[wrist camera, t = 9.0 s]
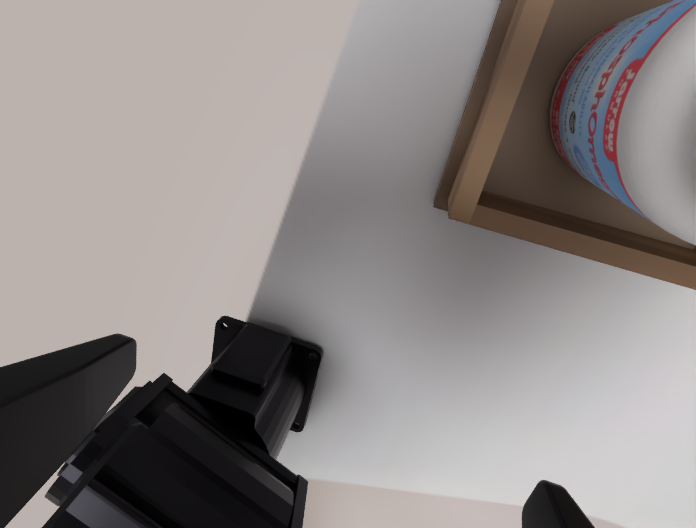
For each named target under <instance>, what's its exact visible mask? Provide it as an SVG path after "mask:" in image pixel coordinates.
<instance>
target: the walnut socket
mask: <svg viewBox="0 0 696 528" xmlns="http://www.w3.org/2000/svg"><path fill="white" fill-rule="evenodd" d="M672 1H674V0H501V3H500V6H499V9H498V12H497V15H496V18H495V21H494V24H493V27H492V30H491V33H490V36H489V39H488V42H487V45H486V48H485V51H484V54H483V57H482V60H481V63H480V66H479V69H478V72H477V75H476V78H475V81H474V84H473V87H472V90H471V93H470V96H469V99H468V102H467V105H466V108H465V111H464V114H463V117H462V120H461V123H460V126H459V129H458V132H457V135H456V138H455V141H454V144H453V147H452V150H451V153H450V156H449V159H448V162H447V165H446V168H445V171H444V174H443V177H442V180H441V183H440V186H439V189H438V192H437V195H436V198H435V201H434V207H435V208H439V209H442V210H446V211H448V215H449V219H453V220H456V221H460V222H463V223H467V224H470V225H474V226H477V227H480V228H484V229H487V230H491V231H494V232H498V233H501V234H505V235H508V236H512V237H515V238H518V239H522V240H525V241H529V242H532V243H536V244H539V245H543V246H546V247H550V248H553V249H556V250H560V251H563V252H567V253H570V254H574V255H577V256H581V257H584V258H588V259H591V260H594V261H598V262H601V263H605V264H608V265H612V266H615V267H619V268H622V269H626V270H629V271H632V272H636V273H639V274H643V275H646V276H650V277H653V278H657V279H660V280H664V281H667V282H670V283H674V284H677V285H681V286H684V287H688V288H691V289H695V290H696V245H694V244H691V243H689V242H686V241H684V240H682V239H680V238H678V237H676V236H674V235H673V234H671V233H669V232H667V231H665V230H664V229H662V228H660V227H659V226H657V225H656V224H654V223H653V222H651V221H650V220H648V219H646V218H645V217H643V216H642V215H640V214H639V213H637V212H636V211H634V210H633V209H632V208H630V207H628V206H627V205H625V204H624V203H622V202H621V201H619V200H617V199H616V198H614V197H613V196H611V195H610V194H608V193H606V192H605V191H603V190H602V189H600V188H599V187H597V186H596V185H594V184H592V183H591V182H589V181H588V180H586V179H584V178H583V177H581V176H580V175H578V174H577V173H576V172H575V171H573V170H572V169H571V168H570V167H569V166H568V165H567V164H566V163H565V162H564V160H563V159H562V158H561V156H560V155H559V153H558V151H557V149H556V147H555V145H554V142H553V139H552V135H551V130H550V106H551V101H552V97H553V94H554V90H555V88H556V85H557V83H558V81H559V78H560V77H561V75H562V73H563V71H564V70H565V68H566V66H567V65H568V63H569V62H570V61H571V59H572V58H573V57H574V56H575V54H576V53H577V52H578V51H579V50H580V49H581V48H582V47H583V46H584V45H585V44H586V43H587V42H589V41H590V40H591V39H592V38H593V37H595V36H596V35H598V34H599V33H600V32H602V31H604V30H605V29H607V28H608V27H610V26H612V25H614V24H616V23H618V22H621V21H623V20H625V19H627V18H629V17H632V16H635V15H637V14H640V13H643V12H645V11H648V10H650V9H653V8H656V7H658V6H661V5H664V4H666V3H669V2H672Z"/></svg>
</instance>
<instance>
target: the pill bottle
mask: <svg viewBox="0 0 696 528" xmlns="http://www.w3.org/2000/svg"><path fill="white" fill-rule="evenodd" d="M550 130H551V135H552V139H553V142H554V145H555V147H556V149H557V151H558V153H559V155H560V156H561V158H562V159H563V160H564V162H565V163H566V164H567V165H568V166H569V167H570V168H571V169H572V170H573V171H575V172H576V173H577V174H578V175H580V176H581V177H583V178H584V179H586V180H588V181H589V182H591V183H592V184H594V185H596V186H597V187H599V188H600V189H602V190H603V191H605V192H606V193H608V194H610V195H611V196H613V197H614V198H616V199H617V200H619V201H621V202H622V203H624V204H625V205H627V206H628V207H630V208H632V209H633V210H634V211H636V212H637V213H639V214H640V215H642V216H643V217H645V218H646V219H648V220H650V221H651V222H653V223H654V224H656V225H657V226H659V227H660V228H662V229H664V230H665V231H667V232H669V233H671V234H673V235H674V236H676V237H678V238H680V239H682V240H684V241H686V242H689V243H691V244H694V245H696V0H674V1H672V2H669V3H666V4H664V5H661V6H658V7H656V8H653V9H650V10H648V11H645V12H643V13H640V14H637V15H635V16H632V17H629V18H627V19H625V20H623V21H621V22H618V23H616V24H614V25H612V26H610V27H608V28H607V29H605V30H604V31H602V32H600V33H599V34H598V35H596V36H595V37H593V38H592V39H591V40H590V41H589V42H587V43H586V44H585V45H584V46H583V47H582V48H581V49H580V50H579V51H578V52H577V53H576V54H575V56H574V57H573V58H572V59H571V61H570V62H569V63H568V65H567V66H566V68H565V70H564V71H563V73H562V75H561V77H560V78H559V81H558V83H557V85H556V88H555V90H554V94H553V97H552V101H551V106H550Z"/></svg>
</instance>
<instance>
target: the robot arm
mask: <svg viewBox="0 0 696 528" xmlns="http://www.w3.org/2000/svg"><path fill="white" fill-rule="evenodd" d="M223 323H225V324H226V325H227V326H228V327H226V326H224V324H223ZM311 353H315V354H316V355H317V356H313V355H312V354H311ZM322 358H323V351H322V349H321V348H320V347H318V346H316V345H313V344H310V343H307V342H304V341H301V340H298V339H295V338H292V337H289V336H287V335H284V334H281V333H278V332H275V331H272V330H269V329H266V328H263V327H260V326H257V325H254V324H251V323H246V322H243V321H240V320H237V319H234V318H231V317H228V316H222V317H221V318H220V319H219V320H218V321H217V323H216V326H215V335H214V343H213V352H212V360H211V364H210V366H209V367H208V368H207V369H206V370H205V371H204V373H203V374H202V375H201V376H200V377H199V379H198V380H197V381H196V382H195V383H194V385H193V386H192V387H191V388H190V389H189V390H188V391H187V393H186V392H185V391H184V390H182V389H181V388H180V387H178V386H177V385H176V384H174V383H173V382H172V380H173V379H171V378H170V377H169V376H167V375H166V374H165V373H163V374H162V375H161V376H160V377H159V378H157V379H156V380H155V381H154V382H153V383H152V382H151V381H149V382H148V383H146V384H145V385H144V386H143V387H134V388H133V389H132V390H131V391H130V392H129V393H128V394H127V395H126V396H125V397H124V398H123V399H122V400H121V401H120V402H119V403H118V404H117V405H116V406H114V407H113V408H112V409H111V410H110V411H108V412H107V410H108V409H109V408H110V406H111V405H112V404H113V403H114V401H115V400H116V399H117V397H118V396H119V395H120V393H121V392H122V391H123V389H124V388H125V387H126V385H127V384H128V383H129V381H130V380H131V379H132V377H133V375H134V373H135V369H136V341H135V340H134V339H133V338H130V337H128V336H125V335H122V334H113V335H110V336H106V337H103V338H99V339H96V340H93V341H89V342H86V343H83V344H79V345H75V346H72V347H68V348H65V349H62V350H58V351H55V352H52V353H48V354H45V355H41V356H38V357H34V358H31V359H27V360H24V361H20V362H17V363H13V364H10V365H7V366H3V367H0V528H4V527H5V526H6V525H7V524H8V523H9V522H10V521H11V520H12V519H13V517H14V516H15V515H16V514H17V513H18V512H19V511H20V510H21V509H22V508H23V507H24V506H25V504H26V503H27V502H28V501H29V500H30V499H31V498H32V497H33V496H34V495H35V493H36V492H37V491H38V490H39V489H40V488H41V487H42V486H43V485H44V484H45V483H46V482H47V480H48V479H49V478H50V477H51V476H52V475H53V474H54V473H55V472H56V471H57V470H58V469H59V467H60V466H61V465H62V464H63V463H64V462H65V464H64V465H63V467H62V468H61V470H60V471H59V472H58V475H57V476H59V477H58V478H57V480H56V481H55V482H54V484H53V485H52V486H51V487H50V489H49V490H48V492H47V494H46V495H45V497H46V498H47V499H48V500H50V501H51V502H53V503H54V504H55V505H57V506H60V507H59V508H58V509H57V511H56V512H55V513H54V514H53V515H52V517H51V518H50V519H49V520H48V521H47V522H46V524H45V525H44V526H43V527H42V528H302V526H303V518H304V510H305V501H306V494H307V485H308V481H307V480H306V479H304V478H303V477H302V476H300V475H295V474H294V473H293V472H291V471H290V470H289V469H287V468H286V467H285V466H283V465H282V464H281V463H279V462H278V461H277V460H276V459H277V456H278V454H279V452H280V450H281V448H282V445H283V443H284V441H285V439H286V437H287V434H288V432H289V430H291V431H294V432H301V431H302V430H303V428H304V426H305V423H306V420H307V416H308V412H309V408H310V404H311V400H312V396H313V392H314V389H315V385H316V381H317V377H318V373H319V369H320V365H321V361H322ZM106 412H107V413H106ZM296 423H298V424H296ZM522 528H595V527H594V526H593V525H592V523H591V522H590V521H589V519H588V518H587V517H586V515H585V514H584V513H583V511H582V510H581V509H580V507H579V506H578V505H577V504H576V502H575V501H574V500H573V498H572V497H571V496H570V494H569V493H568V492H567V490H566V489H565V488H564V487H562V486H560V485H558V484H555V483H552V482H549V481H546V480H541V481H540V482H539V483H538V484H537V485H536V487H535V489H534V490H533V492H532V493H531V495H530V496H529V498H528V500H527V501H526V503H525V505H524V507H523V511H522Z"/></svg>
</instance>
